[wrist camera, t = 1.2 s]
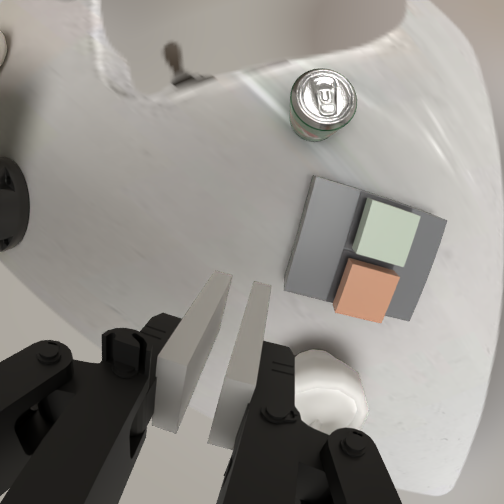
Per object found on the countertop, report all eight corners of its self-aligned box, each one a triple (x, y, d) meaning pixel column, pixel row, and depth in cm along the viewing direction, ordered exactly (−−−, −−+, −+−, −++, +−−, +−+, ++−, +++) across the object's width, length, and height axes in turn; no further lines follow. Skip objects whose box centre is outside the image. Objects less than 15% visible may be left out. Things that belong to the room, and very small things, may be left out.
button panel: (284, 277, 37) (283, 291, 33) (313, 175, 33) (316, 176, 29) (399, 306, 36) (409, 322, 32) (432, 214, 33) (448, 220, 29)
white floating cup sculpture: (251, 359, 40) (213, 531, 16) (327, 314, 37) (361, 495, 13) (303, 414, 42) (302, 567, 18) (373, 377, 39) (417, 533, 15)
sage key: (351, 247, 29) (356, 253, 27) (367, 197, 28) (372, 199, 26) (397, 261, 29) (403, 267, 27) (412, 213, 28) (420, 216, 26)
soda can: (332, 95, 31) (353, 62, 19) (339, 139, 32) (365, 127, 20) (286, 99, 31) (285, 67, 20) (293, 144, 33) (296, 132, 21)
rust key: (332, 303, 31) (335, 312, 29) (348, 257, 30) (352, 263, 28) (376, 314, 31) (381, 323, 29) (393, 270, 29) (399, 277, 28)
